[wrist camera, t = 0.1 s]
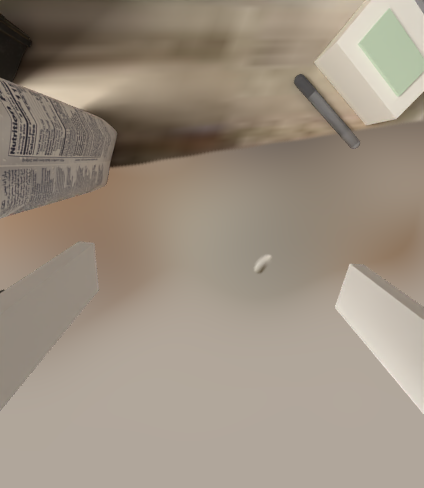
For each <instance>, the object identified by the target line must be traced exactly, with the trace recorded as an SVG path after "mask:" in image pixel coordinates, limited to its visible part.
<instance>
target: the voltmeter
mask: <svg viewBox="0 0 424 488" xmlns="http://www.w3.org/2000/svg"><path fill="white" fill-rule="evenodd" d="M29 38H30V37H29V36H28V35H26V34H25V33H24V32H22V31H21V30H20V29H19V28H17V27H16V26H15V25H13V24H12V23H11V22H9V21H8V20H7V19H6V18H5V17H4V16H3V15H2V14H0V78H2V79H4V80H7V81H10V82H13V80H14V77H15V74H16V72H17V69H18V67H19V64H20V61H21V59H22V56H23V54H24V51H25V48H26V46H28V47H30V45H31V43H32V42H31V41H30V40H29Z"/></svg>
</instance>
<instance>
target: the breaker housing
mask: <svg viewBox="0 0 424 488" xmlns="http://www.w3.org/2000/svg"><path fill="white" fill-rule="evenodd" d="M314 63H315V65H316V66H317V67H318V68H319V70H320V71H321V72H322V73H323V74H324V76H325V77H326V78H327V79H328V80H329V82H330V83H331V84H332V85H333V86H334V88H335V89H336V90H337V91H338V92H339V94H340V95H341V96H342V97H343V98H344V100H345V101H346V102H347V103H348V104H349V106H350V107H351V108H352V109H353V110H354V112H355V113H356V114H357V115H358V116H359V118H360V119H361V120H362V121H363V123H364V124H365V125H370V124H374V123H379V122H384V121H389V120H394V119H397V118H398V117H399V116H400V115H401V114H402V113H403V112H404V111H405V110H406V109H407V108H408V107H409V106H410V105H411V104H412V103H413V102H414V101H415V100H416V99H417V98H418V97H419V96H420V95H421V94H422V93H423V92H424V0H365V1H364V2H363V4H362V5H361V6H360V7H359V9H358V10H357V11H356V12H355V13H354V15H353V16H352V17H351V18H350V19H349V21H348V22H347V23H346V24H345V25H344V27H343V28H342V29H341V30H340V31H339V33H338V34H337V35H336V36H335V38H334V39H333V40H332V41H331V42H330V44H329V45H328V46H327V47H326V48H325V50H324V51H323V52H322V53H321V54H320V56H319V57H318V58H317V59H316V60H315V62H314Z"/></svg>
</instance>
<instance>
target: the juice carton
mask: <svg viewBox="0 0 424 488" xmlns="http://www.w3.org/2000/svg"><path fill="white" fill-rule="evenodd" d="M116 137H117V132H116V130H115V129H114V128H113V127H112V126H110V125H109V124H108V123H107V122H106V121H105V120H103V119H102V118H100V117H98V116H96V115H93V114H91V113H88V112H86V111H83V110H81V109H78V108H76V107H73V106H70V105H68V104H66V103H63V102H61V101H59V100H56V99H53V98H51V97H48V96H46V95H43V94H41V93H38V92H35V91H33V90H30V89H28V88H25V87H23V86H20V85H17V84H15V83H12V82H10V81H7V80H4V79H2V78H0V218H3V217H6V216H9V215H13V214H16V213H20V212H23V211H27V210H30V209H34V208H37V207H40V206H44V205H47V204H51V203H54V202H58V201H61V200H64V199H68V198H71V197H75V196H78V195H82V194H85V193H88V192H91V191H94V190H96V189H99V188H101V187H103V186H105V185H106V183H107V179H108V175H109V168H110V162H111V158H112V154H113V150H114V146H115V142H116Z"/></svg>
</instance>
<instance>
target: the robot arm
mask: <svg viewBox="0 0 424 488" xmlns="http://www.w3.org/2000/svg"><path fill="white" fill-rule="evenodd" d="M98 291H99V288H98V278H97V267H96V256H95V245H94V243H89V242H77V243H76V244H74V245H73V246H71V247H70V248H68V249H67V250H65V251H63V252H62V253H61V254H59V255H57V256H56V257H55V258H53V259H51V260H50V261H48V262H47V263H45V264H44V265H42V266H41V267H39V268H38V269H36V270H35V271H33V272H32V273H30V274H29V275H27V276H26V277H24V278H23V279H21V280H20V281H18V282H17V283H15V284H13V285H12V286H10V287H9V288H7V289H6V290H2V291H0V411H1V410H2V408H3V407H4V406H5V405H6V404H7V402H8V401H9V400H10V398H11V397H12V396H13V395H14V394H15V392H16V391H17V390H18V389H19V387H20V386H21V385H22V384H23V383H24V381H25V380H26V379H27V378H28V377H29V375H30V374H31V373H32V372H33V370H34V369H35V368H36V367H37V365H38V364H39V363H40V362H41V361H42V359H43V358H44V357H45V356H46V354H47V353H48V352H49V351H50V350H51V348H52V347H53V346H54V345H55V343H56V342H57V341H58V340H59V338H60V337H61V336H62V335H63V334H64V332H65V331H66V330H67V329H68V328H69V326H70V325H71V324H72V323H73V321H74V320H75V319H76V318H77V316H78V315H79V314H80V313H81V312H82V310H83V309H84V308H85V307H86V305H87V304H88V303H89V302H90V301H91V299H92V298H93V297H94V296H95V294H96V293H97V292H98ZM335 308H336V309H337V311H338V312H339V313H340V314H341V315H342V317H343V318H344V319H345V320H346V321H347V322H348V324H349V325H350V326H351V327H352V329H353V330H354V331H355V332H356V333H357V335H358V336H359V337H360V338H361V339H362V341H363V342H364V343H365V344H366V345H367V347H368V348H369V349H370V350H371V351H372V353H373V354H374V355H375V356H376V358H377V359H378V360H379V361H380V362H381V363H382V365H383V366H384V367H385V368H386V370H387V371H388V372H389V373H390V374H391V376H393V378H394V379H395V380H396V382H397V383H398V384H399V385H400V386H401V388H402V389H403V390H404V391H405V392H406V394H407V395H408V396H409V397H410V398H411V400H412V401H413V402H414V403H415V404H416V405H417V407H418V408H419V409H420V410H421V412H422V413H423V414H424V307H423V306H422V305H420V304H419V303H418V302H416V301H415V300H413V299H412V298H410V297H409V296H408V295H406V294H405V293H403V292H402V291H401V290H399V289H397V288H396V287H395V286H393V285H392V284H391V283H389V282H388V281H386V280H385V279H383V278H382V277H381V276H379V275H378V274H376V273H375V272H373V271H372V270H371V269H369V268H368V267H366V266H365V265H360V264H350V265H349V268H348V271H347V274H346V277H345V279H344V282H343V286H342V288H341V291H340V294H339V297H338V300H337V303H336V306H335Z"/></svg>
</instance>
